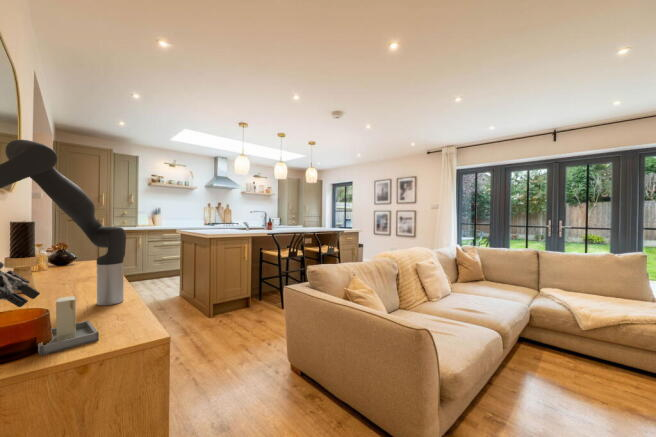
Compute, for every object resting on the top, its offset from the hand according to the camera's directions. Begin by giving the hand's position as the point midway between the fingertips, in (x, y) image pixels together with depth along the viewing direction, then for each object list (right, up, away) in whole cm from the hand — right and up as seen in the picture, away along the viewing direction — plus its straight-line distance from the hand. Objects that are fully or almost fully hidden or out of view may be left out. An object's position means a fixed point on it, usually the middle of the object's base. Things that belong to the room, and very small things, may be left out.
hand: (31, 300), depth 81 cm
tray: (+7, -14, +4) cm, 16 cm away
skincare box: (+6, -13, +4) cm, 15 cm away
